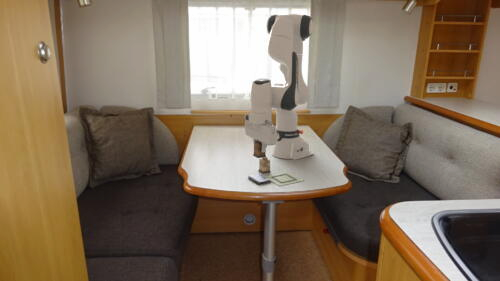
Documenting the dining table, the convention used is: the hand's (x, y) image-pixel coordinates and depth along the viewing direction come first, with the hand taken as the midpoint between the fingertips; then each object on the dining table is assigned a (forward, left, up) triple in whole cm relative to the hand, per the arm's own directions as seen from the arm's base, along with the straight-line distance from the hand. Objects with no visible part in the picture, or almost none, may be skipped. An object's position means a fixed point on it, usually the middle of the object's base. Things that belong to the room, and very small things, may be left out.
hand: (259, 150), depth 156 cm
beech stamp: (-8, -9, -14) cm, 18 cm away
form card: (-11, +3, -14) cm, 18 cm away
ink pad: (0, 0, -14) cm, 14 cm away
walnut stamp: (0, 0, -3) cm, 3 cm away
